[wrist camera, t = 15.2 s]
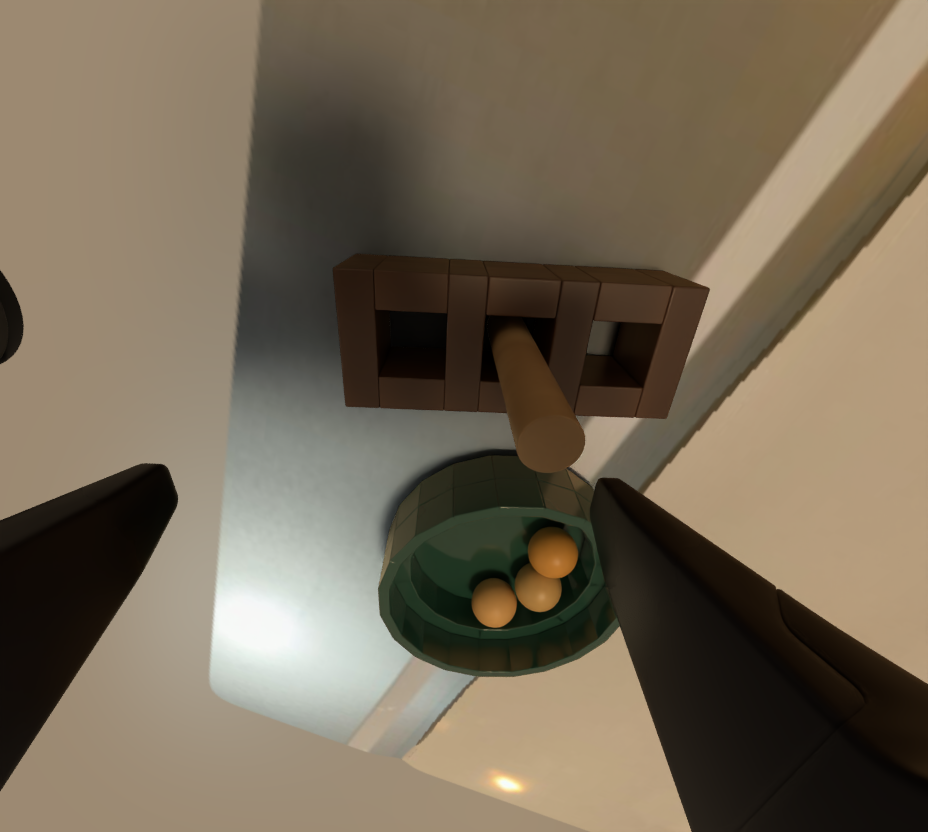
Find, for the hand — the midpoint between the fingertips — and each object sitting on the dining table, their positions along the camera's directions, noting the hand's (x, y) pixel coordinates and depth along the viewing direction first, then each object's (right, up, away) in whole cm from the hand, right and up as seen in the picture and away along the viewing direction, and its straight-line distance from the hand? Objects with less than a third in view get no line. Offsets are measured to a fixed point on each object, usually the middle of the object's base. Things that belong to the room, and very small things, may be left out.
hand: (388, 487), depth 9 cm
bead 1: (+4, -11, +18) cm, 22 cm away
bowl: (+4, -7, +19) cm, 20 cm away
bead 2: (+7, -7, +16) cm, 19 cm away
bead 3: (+6, -10, +18) cm, 21 cm away
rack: (+4, +6, +12) cm, 14 cm away
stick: (+4, +6, +12) cm, 14 cm away
